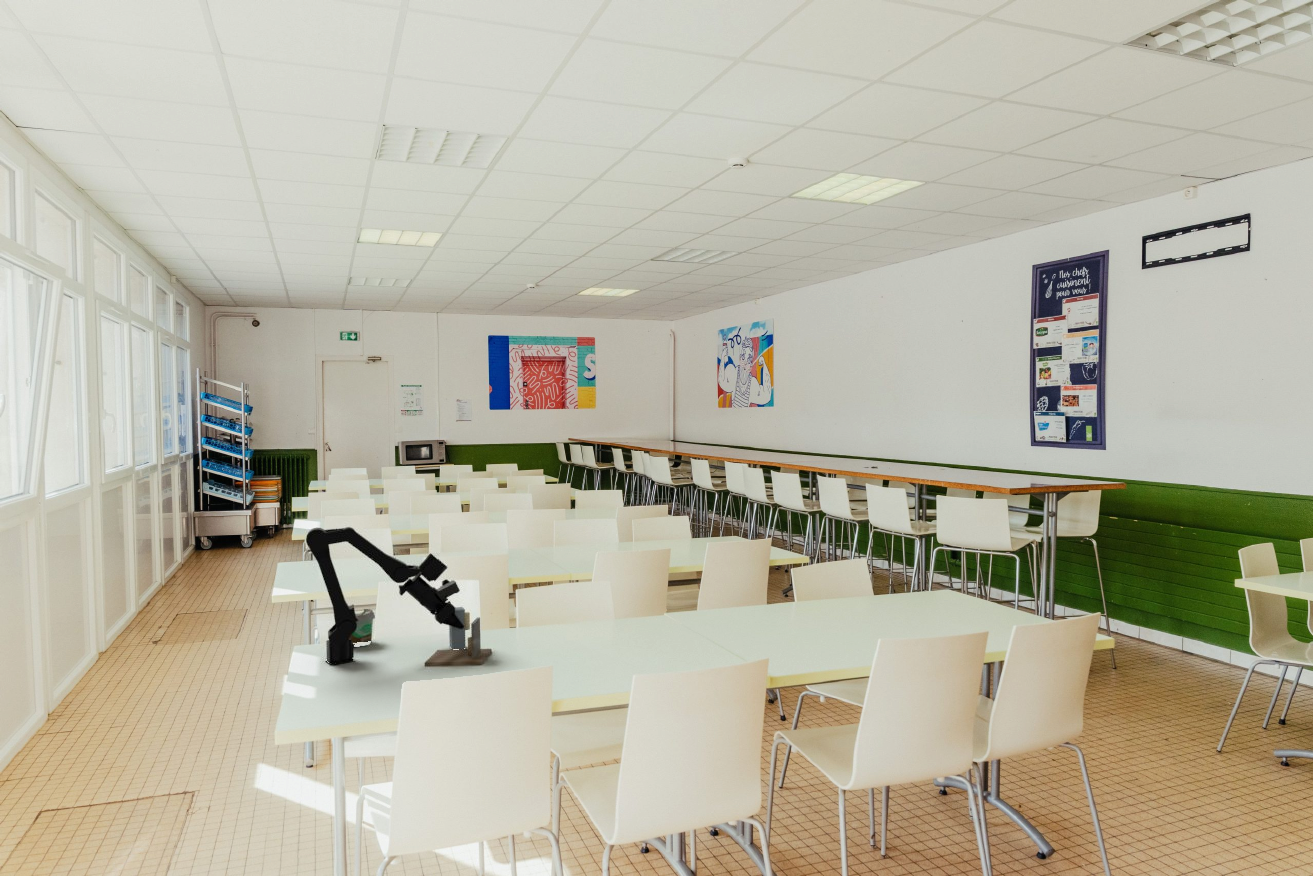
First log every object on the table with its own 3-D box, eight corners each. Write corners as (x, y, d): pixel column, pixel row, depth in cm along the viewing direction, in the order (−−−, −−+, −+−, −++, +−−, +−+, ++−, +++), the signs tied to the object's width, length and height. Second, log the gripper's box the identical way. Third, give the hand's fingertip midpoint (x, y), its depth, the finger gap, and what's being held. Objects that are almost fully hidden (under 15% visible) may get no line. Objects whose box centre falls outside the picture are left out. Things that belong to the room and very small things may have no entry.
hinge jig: (424, 666, 229) (423, 626, 230) (437, 653, 243) (437, 616, 244) (481, 664, 230) (480, 625, 230) (491, 652, 244) (490, 615, 244)
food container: (361, 650, 250) (361, 617, 250) (343, 649, 251) (342, 616, 251) (383, 640, 262) (382, 609, 262) (365, 639, 263) (365, 608, 263)
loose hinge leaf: (452, 651, 246) (451, 611, 246) (449, 647, 251) (448, 608, 251) (471, 648, 248) (470, 609, 248) (468, 645, 253) (468, 606, 253)
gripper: (447, 577, 239) (485, 611, 243) (438, 568, 256) (475, 600, 260) (419, 606, 236) (459, 640, 240) (413, 596, 253) (450, 628, 257)
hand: (461, 626), depth 250 cm, fingers closed on loose hinge leaf, 5 cm apart
